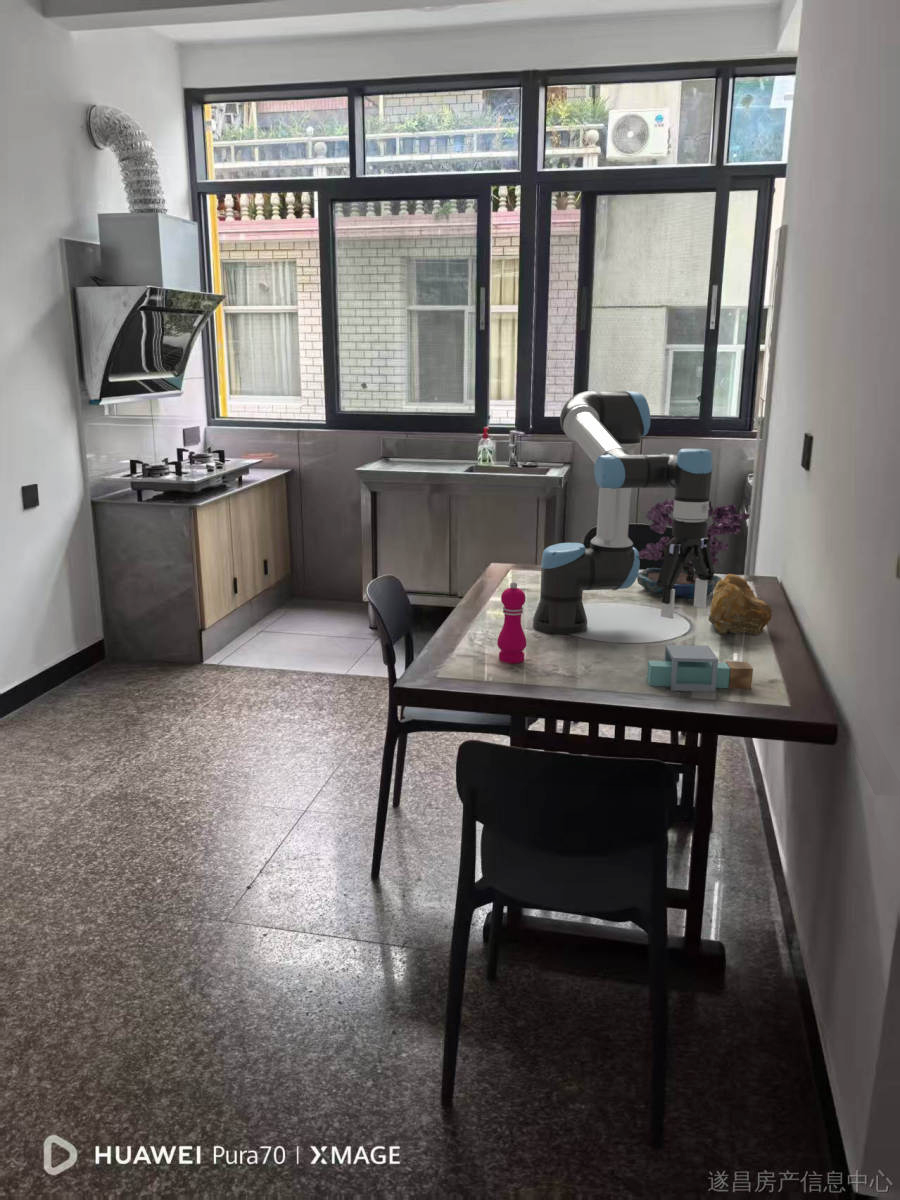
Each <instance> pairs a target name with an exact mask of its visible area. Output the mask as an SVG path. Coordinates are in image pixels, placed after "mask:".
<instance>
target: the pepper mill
mask: <svg viewBox="0 0 900 1200" xmlns="http://www.w3.org/2000/svg"><path fill="white" fill-rule="evenodd" d="M500 600H501V603H502V605H503V607H502V613H503V614H504V615H503V616H504V620H503V626H502V628H501V630H500V632H499V634H498V638H497V643H496V645H497V647H498V649H500V651H499V652H498V659H499V662H502V663H505V664H520V663H522V662H524V660H525V652H523V651H524V650H525V649H526V647H527V638H526V635H525V632H524V630H523V627H522V620H521V619H522V615H523V614H524V612H523V611H524V607H523V606H524V605H525V603H526V595H525V592H524V591H523V589H521V588H518V583H517V582H516V581H512V582H510V587H508V588H505V589H504V590H503V591H502V593H501V597H500Z"/></svg>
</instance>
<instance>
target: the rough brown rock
mask: <svg viewBox="0 0 900 1200" xmlns="http://www.w3.org/2000/svg"><path fill="white" fill-rule="evenodd" d="M709 611H710V612H709V615H708V621H709V623H710V624H713V625H714V627H715V629H716V632H718V633H719V635H720V634H721V635H723V634H727V633H728V632H729V633H732V634H734V633H735V634H736V633H737V634H738V633H743V632H744V633H748V634H749V635H753V636H758V635H759V634H761V633H762V632H763V630H764V629H765V627H766V625H768V623H769V622H770V621H771V620H772V616H773V615H772V614H773V613H772V612H773V609H772V607H771V606H770V605H769V604H768V603H767V602H765V601H764V600H762V599H758V598H757V596H756V595H755V593H754V591H753V590H752V588H751V587H750V585H749V584H748V581H747V580H746V579H745V578H743V577H741V576H739V575H737V574H733V573H728V574H726V576H725V577H724V579H721V580H719V581H718V582H717V584H716V586H715V589H714V590H713V595H712V600H711V603H710V610H709Z"/></svg>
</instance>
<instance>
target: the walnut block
mask: <svg viewBox="0 0 900 1200" xmlns="http://www.w3.org/2000/svg"><path fill="white" fill-rule="evenodd" d="M725 663H727V665H728V666H729V667H730V677H729V687H728V688H727V689H731V690H732V689H734V690H739V689H740V690H751V689H752V684H753V683H752V682H753V673H754V668H753V667H752V665H751V664H750V663H749V662H748V661H733V660H732V661H731V660H729V661H728V660H727V661H725Z"/></svg>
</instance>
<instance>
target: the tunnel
mask: <svg viewBox="0 0 900 1200" xmlns="http://www.w3.org/2000/svg"><path fill="white" fill-rule="evenodd" d="M664 647H665V648H664V660H663V661H672V670H671V683H670V686H669V689H670V691H671V692H673V691H675V692H676V691H678V692H679V691H680V692H709V693H713V692H714V693H715V692H716V690H717V689H716V678H717V667H718V663H719V658H718V657H717V656H716V654H715V653H714V652H713V650H712V648H711V647H710V646H709V645H699V644H697V645H695V644H694V645H691V644H688V645H687V644H665V646H664ZM678 661H679V662H712V671H711V683H710V684H696V683H676V675H677V663H678Z"/></svg>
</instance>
